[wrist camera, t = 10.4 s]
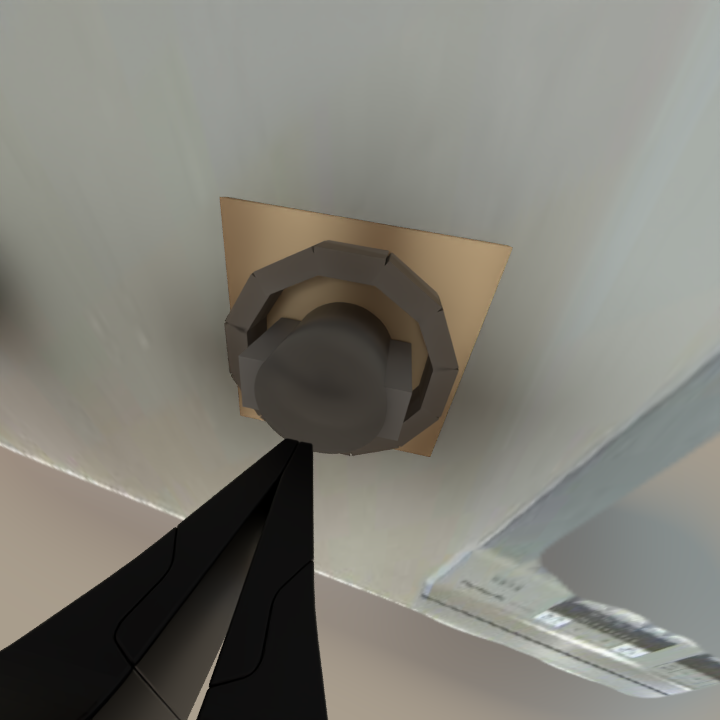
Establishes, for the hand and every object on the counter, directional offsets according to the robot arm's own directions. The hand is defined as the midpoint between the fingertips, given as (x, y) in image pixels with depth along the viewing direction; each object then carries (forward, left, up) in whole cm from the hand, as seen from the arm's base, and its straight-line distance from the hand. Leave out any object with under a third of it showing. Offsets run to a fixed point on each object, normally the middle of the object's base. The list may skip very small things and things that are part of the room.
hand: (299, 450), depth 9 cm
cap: (0, 0, -7) cm, 7 cm away
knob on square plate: (0, 0, -7) cm, 7 cm away
